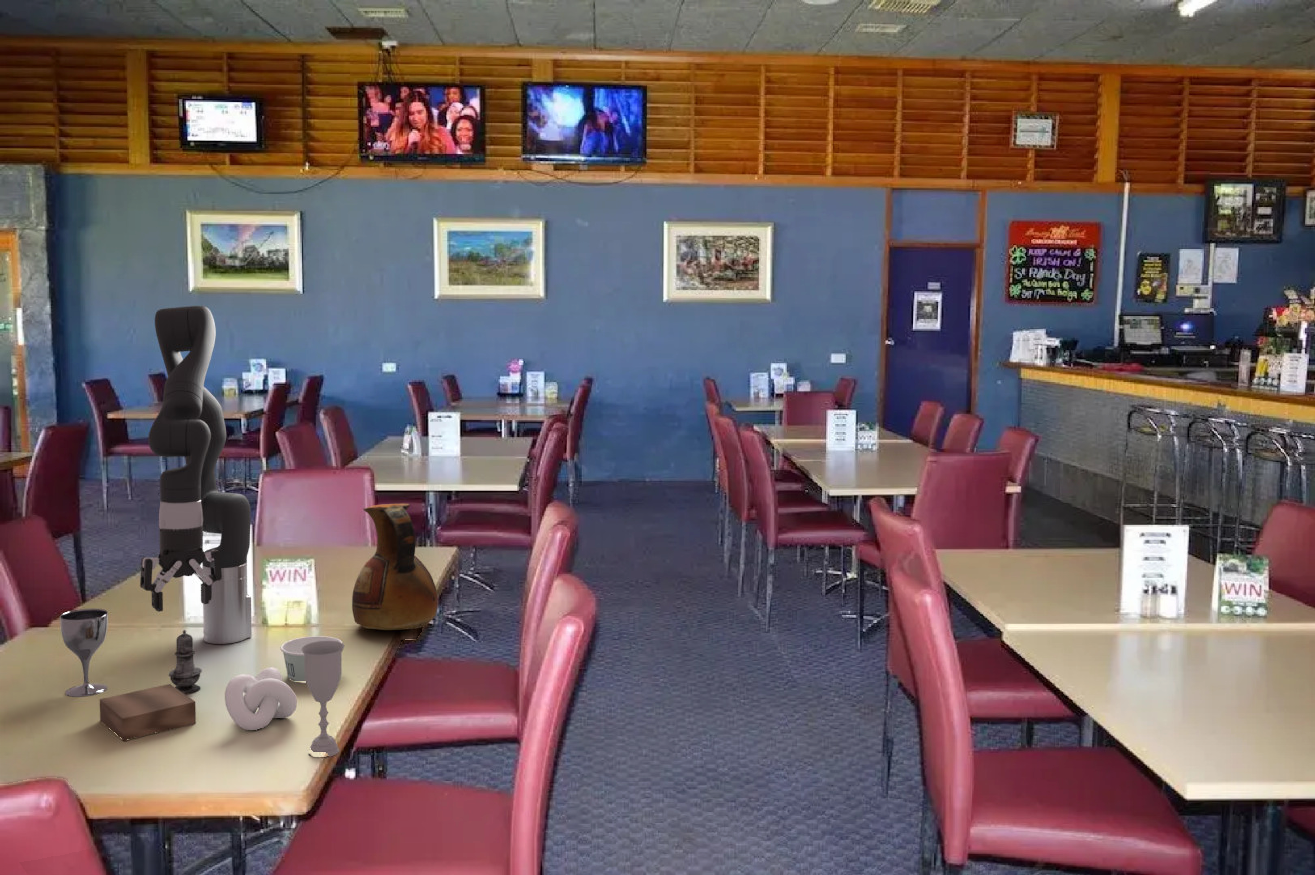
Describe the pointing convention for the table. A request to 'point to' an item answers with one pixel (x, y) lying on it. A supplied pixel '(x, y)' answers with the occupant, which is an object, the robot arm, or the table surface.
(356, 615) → the ceramic pitcher
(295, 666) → the food container
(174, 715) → the walnut base
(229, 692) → the white knot sculpture
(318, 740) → the chalice
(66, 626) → the silver goblet
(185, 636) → the salt shaker
